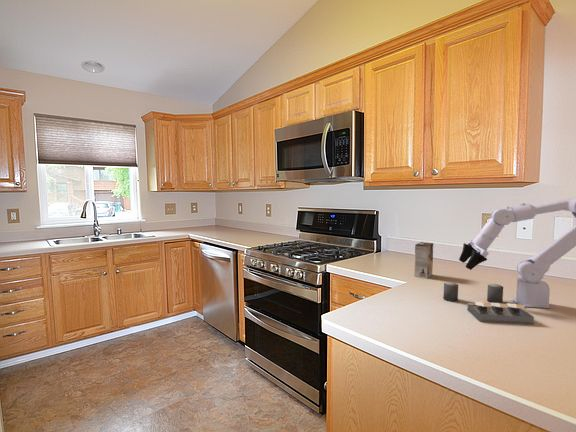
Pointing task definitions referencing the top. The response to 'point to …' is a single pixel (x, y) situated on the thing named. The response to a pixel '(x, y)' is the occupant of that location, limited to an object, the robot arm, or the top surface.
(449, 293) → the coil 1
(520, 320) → the panel
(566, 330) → the top surface
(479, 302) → the paddle
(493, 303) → the paddle mid
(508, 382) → the top surface
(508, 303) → the paddle
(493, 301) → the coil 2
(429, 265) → the coffee box
